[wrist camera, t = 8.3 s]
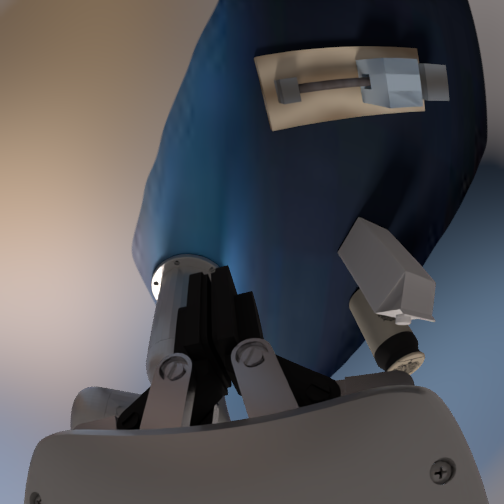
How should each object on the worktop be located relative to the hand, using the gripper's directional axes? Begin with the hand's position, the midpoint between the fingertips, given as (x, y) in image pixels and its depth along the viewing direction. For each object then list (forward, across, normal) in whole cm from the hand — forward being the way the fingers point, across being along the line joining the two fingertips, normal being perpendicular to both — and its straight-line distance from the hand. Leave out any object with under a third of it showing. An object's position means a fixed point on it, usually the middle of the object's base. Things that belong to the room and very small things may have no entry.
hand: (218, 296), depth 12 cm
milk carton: (+29, -20, +19) cm, 40 cm away
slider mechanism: (+28, -20, -7) cm, 35 cm away
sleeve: (+26, -23, -7) cm, 35 cm away
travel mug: (+29, -21, +33) cm, 49 cm away
